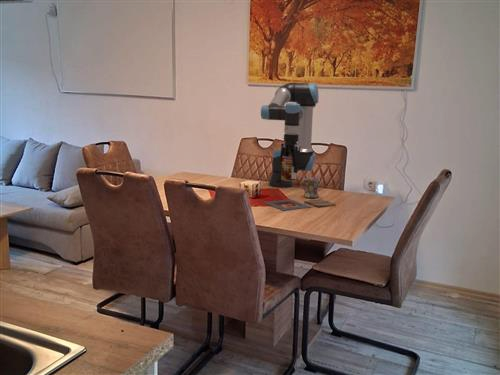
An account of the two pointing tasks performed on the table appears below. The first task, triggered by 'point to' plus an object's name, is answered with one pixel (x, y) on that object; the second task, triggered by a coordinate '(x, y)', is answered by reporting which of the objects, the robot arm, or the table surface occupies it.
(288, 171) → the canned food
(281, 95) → the robot arm
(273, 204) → the frame
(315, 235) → the table surface
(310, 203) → the walnut pad
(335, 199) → the table surface
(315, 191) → the mug
